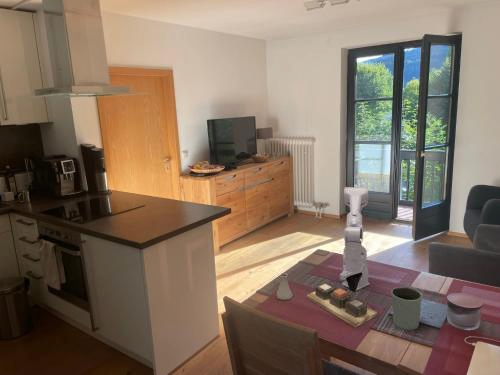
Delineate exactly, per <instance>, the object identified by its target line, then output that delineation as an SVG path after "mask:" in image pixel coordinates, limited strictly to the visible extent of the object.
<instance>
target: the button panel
mask: <svg viewBox="0 0 500 375" xmlns="http://www.w3.org/2000/svg"><path fill="white" fill-rule="evenodd" d="M324 284H326V285H328V286H330V287H332V288H331V289H329V290H327V291H324V290H322V289H320V288H319V286H322V285H324ZM314 288H315V289H314V290H315V291H313V292H310V293H308V294H306V295H305V298H306V300H308V301H310V302H312V303H314V304H315V305H317V306H319V307H320V308H322V309H323V310H325V311H327V312H329V313H330V314H332V315H334V316H335V317H336V318H339V319H341V320H342V321H344V322H345V323H347V324H349V325H351V326H352V327H354V328H358V327H359V326H361V325H363V324H365V323H366V322H368V321H371V320H372V319H374V318H376V317H377V316H378V312H377V311H376V310H374V309H372V308H370V307H368V303H367V302H365V301H362V300H361V299H358V298H352V297H351V295H350V294H349V293H347V296H346V297H344V298H342V299H339V298H337V297H335V296H334V295H333V291H335V290H336V287H335V286H333V285H331V284H330V283H327V282H322V283H321V284H318V285H316V286H315V287H314ZM355 299H356V300H358V301H360V302H362V303H363V305H362V306H360V307H358V308H356V307H354V306H352V305H350V304H349V302H351V301H353V300H355Z"/></svg>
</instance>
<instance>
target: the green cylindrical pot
mask: <svg viewBox="0 0 500 375" xmlns="http://www.w3.org/2000/svg"><path fill="white" fill-rule="evenodd" d="M390 294H391V304H392V305H391V306H392V321H393V324H394V325H395V326H396V327H398V328H399V329H402V330H406V331H414V330H417V329H418V327H419V324H420V317H421V307H422V300H423V294H422V293H421V291H419V290H418V289H417V288H414V287H411V286H410V287H409V286H396V287H394V288H392V290H391V293H390Z"/></svg>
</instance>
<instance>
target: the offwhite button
mask: <svg viewBox="0 0 500 375" xmlns="http://www.w3.org/2000/svg"><path fill="white" fill-rule="evenodd" d="M319 288H320V289H322V290H324V291H327V290H329V289H331V288H332V287H330V286H328V285H326V284H325V283H324V285H322V286H319Z"/></svg>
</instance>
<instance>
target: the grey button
mask: <svg viewBox="0 0 500 375" xmlns="http://www.w3.org/2000/svg"><path fill="white" fill-rule="evenodd" d="M354 299H355V300H353V301H351V302H349V304H350V305H352V306H354V307H356V308H358V307H360V306H362V305H363V303H362V302H360V301H358V300H356V298H354Z"/></svg>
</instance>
